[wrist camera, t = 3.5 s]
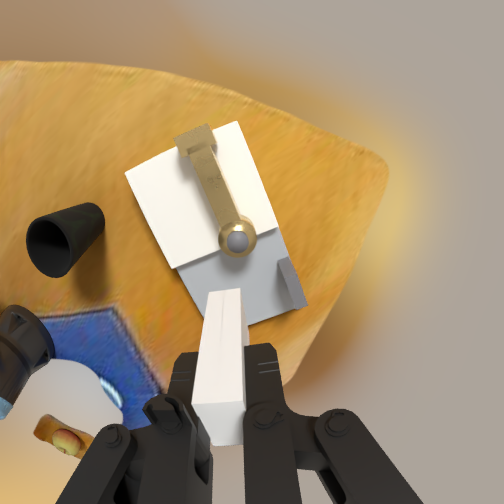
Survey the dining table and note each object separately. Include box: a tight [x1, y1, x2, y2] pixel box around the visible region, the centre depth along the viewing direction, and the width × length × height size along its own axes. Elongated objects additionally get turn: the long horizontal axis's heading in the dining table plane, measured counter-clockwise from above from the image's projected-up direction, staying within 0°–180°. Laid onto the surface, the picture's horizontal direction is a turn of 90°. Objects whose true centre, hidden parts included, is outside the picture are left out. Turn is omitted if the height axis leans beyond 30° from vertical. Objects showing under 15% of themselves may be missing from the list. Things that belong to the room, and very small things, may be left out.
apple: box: [52, 429, 81, 455], centre depth 56 cm, size 10×10×8 cm
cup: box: [26, 203, 105, 278], centre depth 32 cm, size 8×8×12 cm
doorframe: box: [125, 121, 308, 326], centre depth 36 cm, size 15×28×9 cm, turn 21°
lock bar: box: [173, 123, 257, 258], centre depth 31 cm, size 4×15×3 cm, turn 21°
